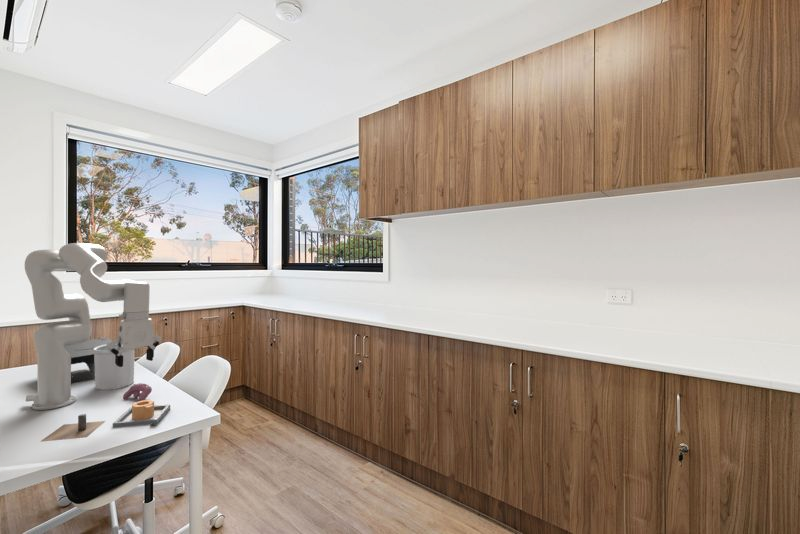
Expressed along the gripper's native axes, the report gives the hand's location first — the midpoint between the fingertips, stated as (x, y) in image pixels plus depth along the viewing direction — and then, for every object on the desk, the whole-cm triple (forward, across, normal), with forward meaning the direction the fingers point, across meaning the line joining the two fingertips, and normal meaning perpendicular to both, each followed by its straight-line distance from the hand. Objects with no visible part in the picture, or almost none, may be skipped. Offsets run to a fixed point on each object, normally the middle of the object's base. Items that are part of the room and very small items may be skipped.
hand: (135, 363), depth 133 cm
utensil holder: (+21, +12, +44) cm, 50 cm away
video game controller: (+20, +10, +17) cm, 28 cm away
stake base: (+20, -16, +2) cm, 26 cm away
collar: (+19, +1, -5) cm, 19 cm away
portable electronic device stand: (+22, +11, +72) cm, 76 cm away
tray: (+19, +1, -5) cm, 20 cm away
